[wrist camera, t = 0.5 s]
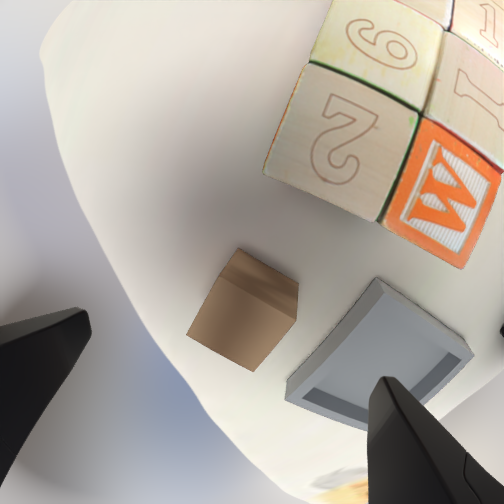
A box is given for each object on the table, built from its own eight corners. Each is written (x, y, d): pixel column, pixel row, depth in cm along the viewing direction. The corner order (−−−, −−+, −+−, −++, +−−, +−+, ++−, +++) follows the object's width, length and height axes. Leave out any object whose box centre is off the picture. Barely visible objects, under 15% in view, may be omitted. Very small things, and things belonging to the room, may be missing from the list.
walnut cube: (298, 283, 20) (296, 320, 15) (263, 330, 22) (253, 372, 17) (238, 247, 20) (218, 275, 15) (209, 299, 22) (185, 334, 17)
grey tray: (463, 339, 19) (474, 355, 17) (379, 418, 23) (382, 436, 21) (376, 276, 19) (384, 292, 16) (287, 380, 23) (284, 400, 21)
